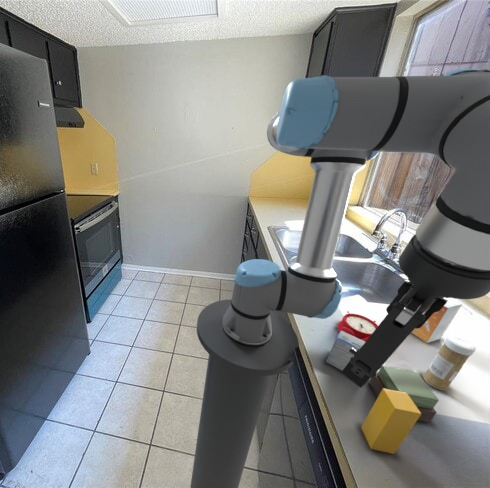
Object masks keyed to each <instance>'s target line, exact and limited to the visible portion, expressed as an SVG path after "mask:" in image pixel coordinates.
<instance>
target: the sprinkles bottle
mask: <svg viewBox="0 0 490 488" xmlns="http://www.w3.org/2000/svg"><path fill="white" fill-rule="evenodd" d="M476 349H477V347H476V346H475V344H474V343H472V342H471V341H469V340H468V339H466V338H463V337H461V336H458V335H453V334H450V335H447V337H445V339H444V340H443V344H442V346H441V348H439V351H438V352H437V353H436V355H435V356H434V358H433V360H432V361H431V363H430V365H429V366H428V368H427V370H426V372H425V373H424V374H423V375H422V379H423V380H424V382H425V383H426V384H427V385H428V386H430V387H432V388H434V389H437V390H438V391H447V390H449V387H450V385H451V384H452V383H453V381H454V380H455V379H456V378H457V375H458V374H459V373H460V371H461V370H462V369H463V366H464V365H465V364H466V361H467V360H468V358H469V357H471V356H472V355H473V354H474V353H475V352H476Z"/></svg>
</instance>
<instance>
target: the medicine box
mask: <svg viewBox="0 0 490 488" xmlns="http://www.w3.org/2000/svg"><path fill="white" fill-rule="evenodd" d="M364 343H365V341H363V340H361V339H358V338H356V337H354V336H352V335H350V334H347V333H345V332H343V331H340V332H339V333H338V332H337V334H336V337H335V339H334V340H333V344H332V347H331V349H330V351H329V354H328V357H327V359H326V361H325V362H326V363H327V364H329V365H331V366H332V367H335V368H336V369H338V370H340V371H341V372H342V371H343V369H344V368H345V367H346V365H347V364H348V363H349V361H350V360H351V357H352V356H354V355H353V354H352V353H351V352H349V351H350V349H351V348H352V347H353V348H355V349H356V350H359V348H361V347H362V346H363V345H364Z"/></svg>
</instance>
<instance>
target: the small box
mask: <svg viewBox="0 0 490 488" xmlns="http://www.w3.org/2000/svg"><path fill="white" fill-rule="evenodd" d="M443 299H445V300H448V301H447V303H446V304H445V305H444V306H443V307H442V309H441V310H440V311H438V312H434V313H433V314H432V315H431V316H430V318H429V319H428V320H427V321H426V322H425V323H424V325H423V326H422V327H421V328H418V329H417V328H415V329H414V330H413V331H412V332H411V333H410V334H412V335H414V336H415V337H417V338H419V339H421V340H422V341H423V342H424V343H426V344H428V343H431V342H434V341H435V342H436V341H437V340H441V339H442V337H443V336H444V334H445V333H446V331H447V330H448V328H449V326H450V324H451V323H452V322H453V320H454V319H455V316H456V315H457V313H458V312H459V310H460V309H461V307H462V306H463V304H462V303H459V302H457V301H455V300H453V299H452V298H445V297H444V298H443ZM428 309H429V308H428ZM428 309H427V310H428ZM427 310H426V311H427ZM426 311H425V312H426ZM425 312H424V313H425ZM424 313H423V315H424Z"/></svg>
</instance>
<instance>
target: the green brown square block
mask: <svg viewBox="0 0 490 488" xmlns="http://www.w3.org/2000/svg"><path fill="white" fill-rule="evenodd" d="M368 383H369V385H370V387H371V389H372V390H373V392H374V395H375V396H376V398H378V396H379V395H380V393H381V391H382V389H383V388H384V389H389V390H394V391H399V392H404V393H407V394H408V395H409V397H410V398H411V400H412V401H413V402H414V404H415V405H416V407H417V408H418V410H419V411H420V412H421V415H420V417H419V418H418V420H417V421H418V422H424V423H427V424H430V423H431V421H432V420H433V419H434V418H435V416H436V415H437V410H436V409H435V407H436V405H437V404H438V403H439V401H440V399H439V397H437V395H436V394H435V393H434V391H433V390H432V389H431V387H429V384H428V383H427V382H426V381H425V380H424V378H423V377H421V375H420V374H419V373H418V371H415V370H409V369H405V368H399V367H393V366H387V365H384V364H383V365H382V367H381V368H380V369H379V370H378V371H377V374H376V375H375V377H374V376H373V378H370V379H369V380H368Z"/></svg>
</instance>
